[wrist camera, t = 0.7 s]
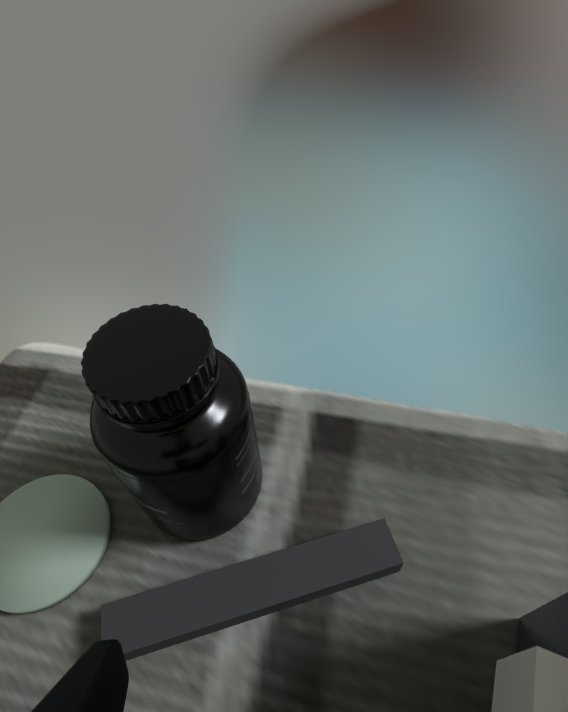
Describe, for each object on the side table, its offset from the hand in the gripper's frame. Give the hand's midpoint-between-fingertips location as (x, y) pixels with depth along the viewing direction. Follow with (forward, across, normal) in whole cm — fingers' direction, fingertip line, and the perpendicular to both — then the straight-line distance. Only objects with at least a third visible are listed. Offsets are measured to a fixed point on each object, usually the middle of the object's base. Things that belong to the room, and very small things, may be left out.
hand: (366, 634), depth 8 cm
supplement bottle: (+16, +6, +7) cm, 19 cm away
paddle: (+5, -6, +10) cm, 13 cm away
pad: (+14, +15, +8) cm, 22 cm away
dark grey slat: (+12, +4, +10) cm, 16 cm away
